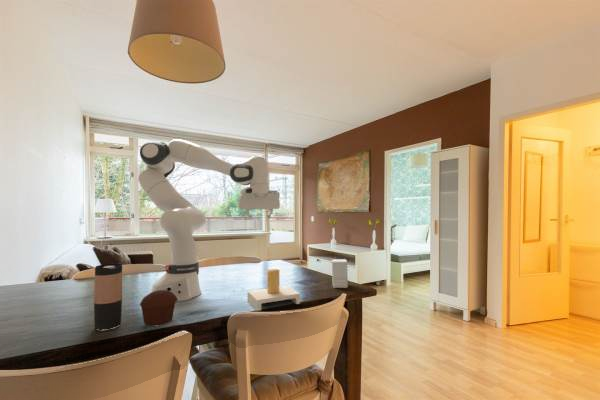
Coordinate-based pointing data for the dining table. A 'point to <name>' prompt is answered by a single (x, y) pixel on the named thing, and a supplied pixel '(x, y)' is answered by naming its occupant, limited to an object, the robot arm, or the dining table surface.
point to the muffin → (158, 307)
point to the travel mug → (108, 296)
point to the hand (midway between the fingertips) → (259, 218)
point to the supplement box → (339, 273)
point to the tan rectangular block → (273, 281)
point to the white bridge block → (272, 296)
